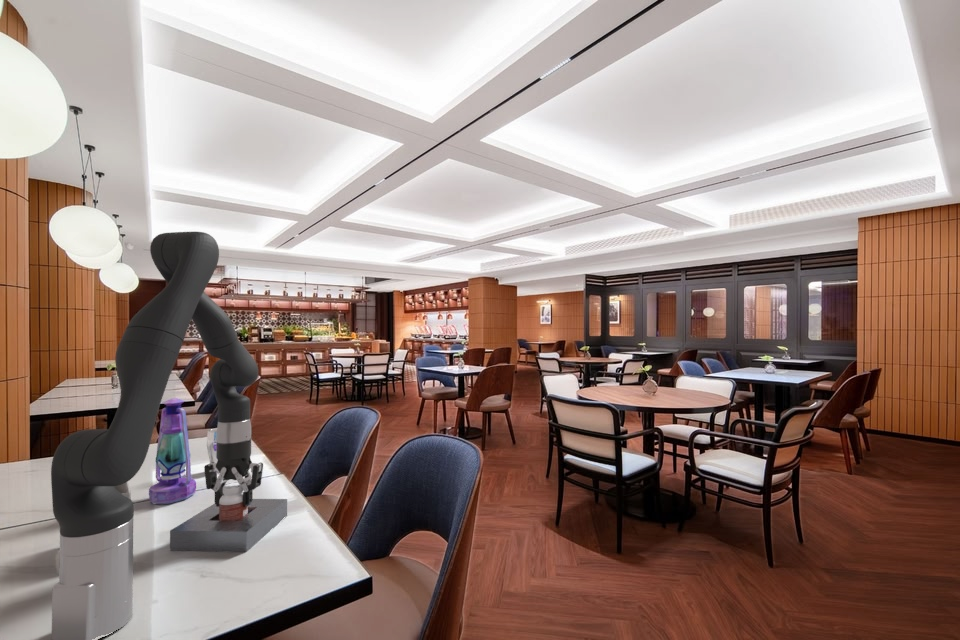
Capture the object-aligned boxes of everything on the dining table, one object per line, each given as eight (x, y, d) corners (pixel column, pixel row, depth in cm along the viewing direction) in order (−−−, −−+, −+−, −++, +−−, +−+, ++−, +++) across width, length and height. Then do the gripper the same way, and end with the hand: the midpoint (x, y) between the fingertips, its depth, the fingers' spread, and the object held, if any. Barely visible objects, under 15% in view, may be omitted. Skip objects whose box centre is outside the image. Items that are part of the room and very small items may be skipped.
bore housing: (246, 551, 93) (246, 531, 93) (169, 550, 94) (170, 530, 94) (287, 515, 111) (287, 499, 111) (222, 515, 112) (222, 498, 112)
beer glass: (208, 470, 149) (208, 428, 149) (230, 467, 152) (231, 426, 152) (204, 476, 142) (205, 432, 143) (228, 473, 145) (228, 430, 146)
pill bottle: (248, 531, 102) (248, 486, 102) (219, 539, 98) (219, 492, 99) (246, 522, 107) (246, 479, 107) (218, 528, 104) (219, 484, 104)
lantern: (136, 503, 120) (137, 400, 121) (176, 488, 132) (176, 394, 132) (169, 508, 117) (170, 402, 117) (207, 493, 128) (208, 396, 128)
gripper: (195, 442, 100) (194, 511, 99) (253, 442, 99) (252, 512, 99) (216, 434, 107) (216, 499, 107) (270, 434, 107) (270, 499, 106)
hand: (233, 505), depth 103 cm, fingers closed on pill bottle, 6 cm apart
